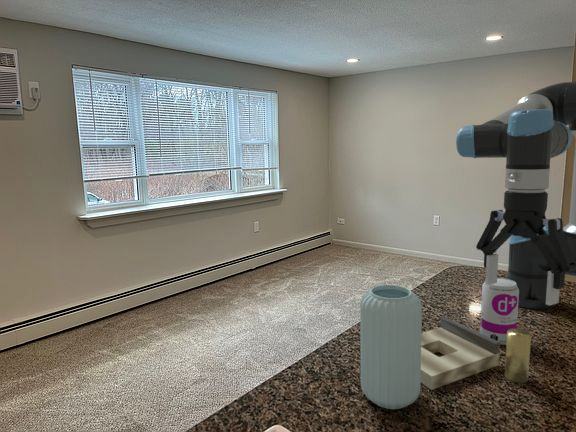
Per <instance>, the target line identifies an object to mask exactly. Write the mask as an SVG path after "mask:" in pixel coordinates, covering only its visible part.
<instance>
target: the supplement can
mask: <svg viewBox="0 0 576 432" xmlns="http://www.w3.org/2000/svg"><path fill="white" fill-rule="evenodd" d="M518 301H519V289H518V287H517V284H516V282H515V281H513V280H510V279H506V277H497V283H494V284H490V285H487V284H485V281H484V283H483V284H482V285H481V303H480V304H481V305H480V323H479V324H480V327H479V329H480V330H479V333H481V334H483V335H485V336H487V337H490V338H492V339H494V340H496V341H498V342H500V346H501V345H505V346H506V343H507V331H508V330H509V329H518V313H519V306H518Z"/></svg>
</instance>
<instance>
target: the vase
mask: <svg viewBox="0 0 576 432" xmlns="http://www.w3.org/2000/svg"><path fill="white" fill-rule="evenodd" d="M359 307H360V308H359V310H360V313H359V316H360V317H359V318H360V321H359V323H360V324H359V325H360V327H359V329H360V333H359V334H360V337H359V338H360V388H361V389H362V392H363V394H364V395H365V396H366V398H367V399H368V400H370V401H371V402H372V403H374V404H375V405H377V406H378V407H381V408H385V409H390V410H399V409H403V408H406V407H409V406H410V405H412V404H413V403H414V402H415V401H417V400H418V398H419V396H420V393H421V382H420V378H421V333H422V329H423V328H422V327H423V326H422V323H423V321H422V320H423V305H422V302H421V300H420V298H419V296H417V294H416V293H415V292H413V291H412V290H411V289H410V288H407V287H405V286H402V285H396V284H382V285H376V286H374V287H372V288H371V289H368V290H367V291H366V292H365V293H364V294H363V295H362V296H361V298H360V304H359Z"/></svg>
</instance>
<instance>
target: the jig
mask: <svg viewBox="0 0 576 432" xmlns="http://www.w3.org/2000/svg"><path fill="white" fill-rule="evenodd" d="M500 349H501V345H500V342H498V341H496V340H494V339H492V338H490V337H487V336H485V335H483V334H481V333H480V331H476V330H474V329H472V328H470V327H468V326H466V325H463V324H461V323H460V322H457V321H455V320H453V319H450V318H449V317H446V316H444V317H440V327H437V328H434V329H430V330H427V331H423V332H421V378H420V384H422V385H424V386H425V387H426V388H427V389H429V390H430V391H431V390H436V389H437V388H440V387H443V386H445V385H449V384H452V383H453V382H454V383H455V382H456V381H459V380H463V379H465V378H467V377H470V376H474V375H476V374H479V373H481V372H482V373H483V372H484V371H487V370H489V369H493V368H495V367H498V366H499V365H500V354H501V353H500V351H501V350H500ZM436 353H440V354H442V356H438V355H436Z"/></svg>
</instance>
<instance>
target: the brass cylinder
mask: <svg viewBox="0 0 576 432" xmlns="http://www.w3.org/2000/svg"><path fill="white" fill-rule="evenodd" d="M531 342H532V334H531V333H530V332H529V331H526V330H524V329H522V328H517V329H509V330H508V331H507V343H506V345H505V364H504V377H505V378H506V379H507V380H509V382H513V383H517V384H526V383H527V382H528V380H529V371H530V370H529V369H530V357H531V356H530V355H531V345H532V343H531Z"/></svg>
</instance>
